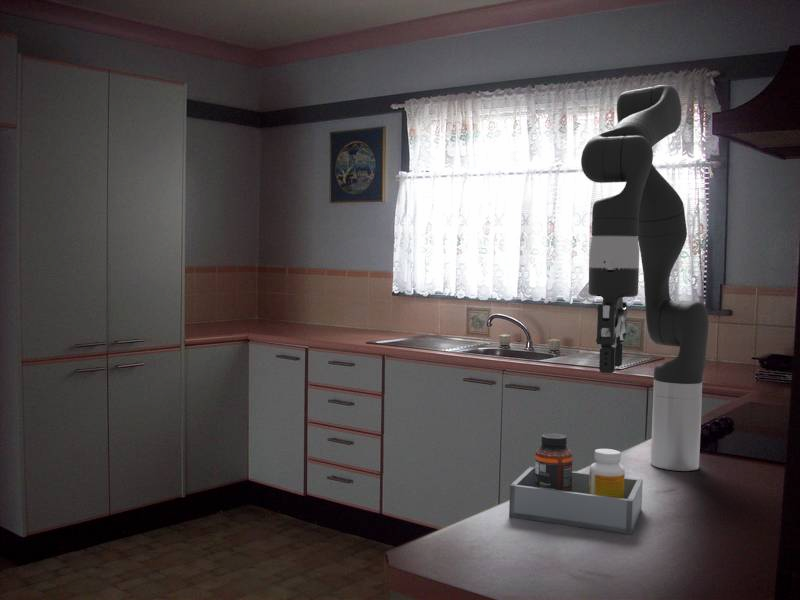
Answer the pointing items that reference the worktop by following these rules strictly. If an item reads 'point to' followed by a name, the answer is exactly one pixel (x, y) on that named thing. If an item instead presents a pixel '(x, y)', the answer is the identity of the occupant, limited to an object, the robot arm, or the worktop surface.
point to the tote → (576, 504)
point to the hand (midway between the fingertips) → (610, 369)
